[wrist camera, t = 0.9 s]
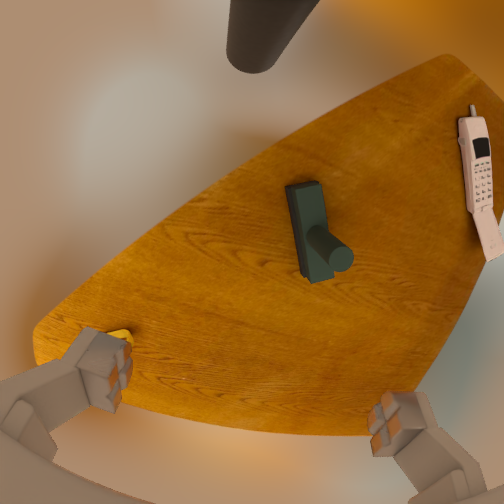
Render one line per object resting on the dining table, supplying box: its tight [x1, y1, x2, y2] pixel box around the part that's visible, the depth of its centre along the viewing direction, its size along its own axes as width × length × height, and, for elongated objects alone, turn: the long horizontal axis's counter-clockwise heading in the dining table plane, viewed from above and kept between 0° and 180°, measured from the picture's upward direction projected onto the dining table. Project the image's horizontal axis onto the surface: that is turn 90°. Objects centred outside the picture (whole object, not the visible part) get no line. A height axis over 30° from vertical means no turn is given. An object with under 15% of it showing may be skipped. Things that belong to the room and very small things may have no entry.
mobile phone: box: [458, 105, 504, 262], centre depth 37 cm, size 6×6×25 cm
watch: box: [106, 329, 134, 346], centre depth 39 cm, size 6×3×6 cm, turn 103°
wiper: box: [285, 180, 354, 284], centre depth 34 cm, size 12×4×12 cm, turn 12°
